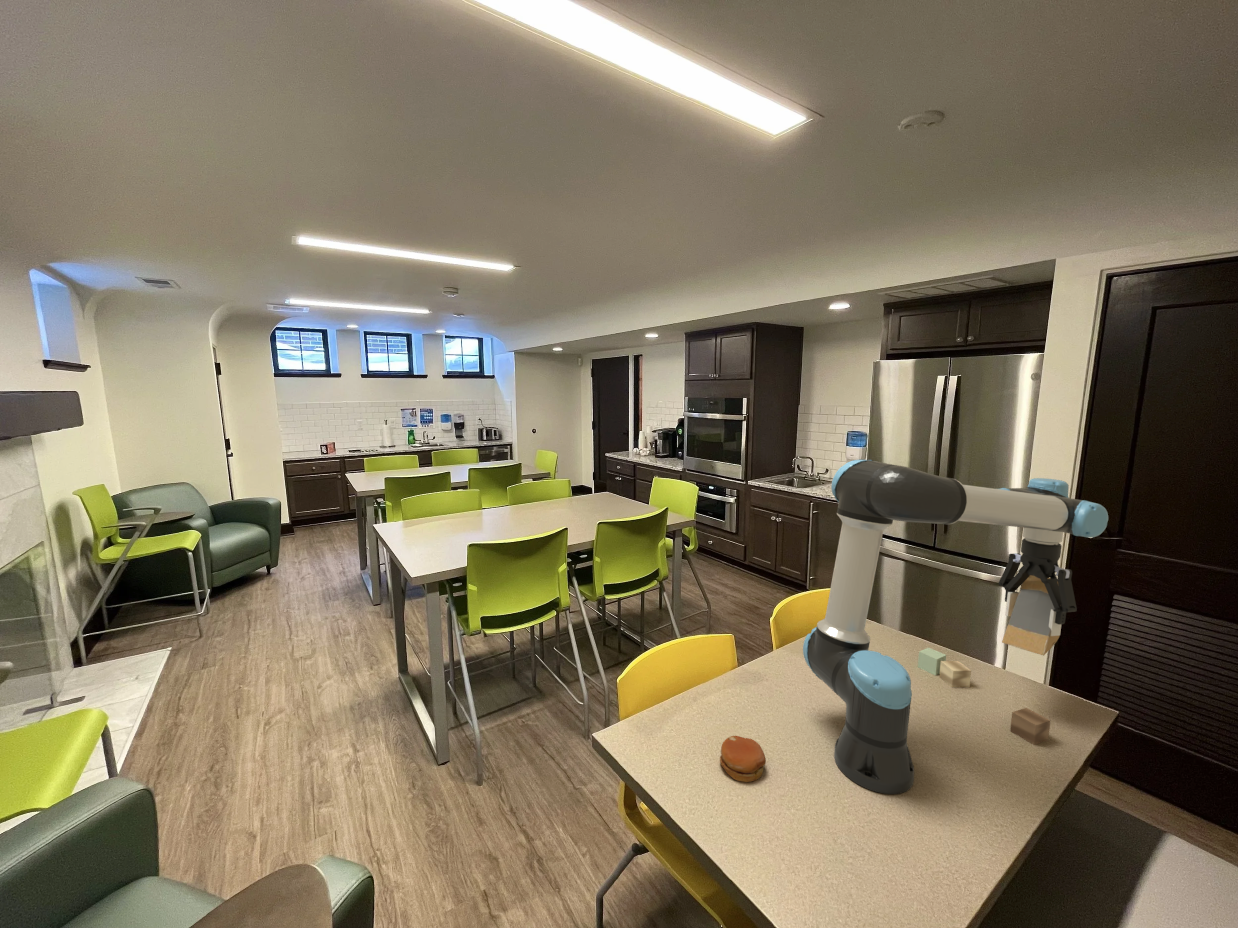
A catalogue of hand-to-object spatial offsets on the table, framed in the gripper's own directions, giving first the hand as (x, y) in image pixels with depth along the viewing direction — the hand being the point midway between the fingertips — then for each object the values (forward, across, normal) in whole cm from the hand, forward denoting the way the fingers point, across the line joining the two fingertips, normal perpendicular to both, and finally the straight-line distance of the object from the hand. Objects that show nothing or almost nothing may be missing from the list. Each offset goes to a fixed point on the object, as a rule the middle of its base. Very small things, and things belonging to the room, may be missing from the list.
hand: (1031, 624), depth 124 cm
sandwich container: (+4, -1, +1) cm, 4 cm away
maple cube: (+22, +11, +10) cm, 26 cm away
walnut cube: (+22, -11, +11) cm, 26 cm away
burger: (+22, -9, +81) cm, 85 cm away
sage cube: (+22, +18, +11) cm, 30 cm away
